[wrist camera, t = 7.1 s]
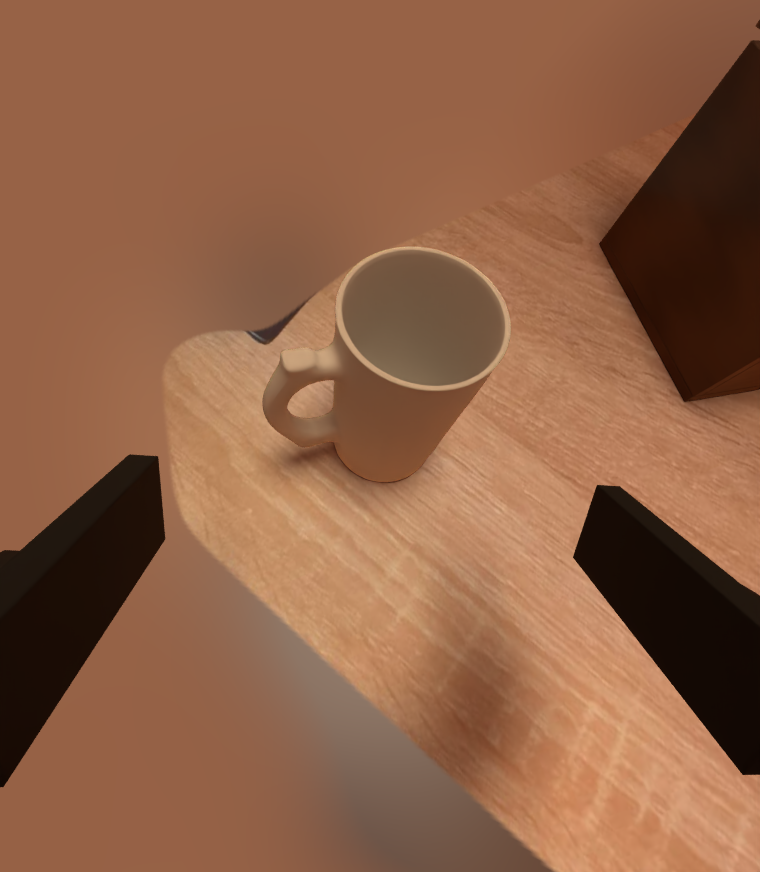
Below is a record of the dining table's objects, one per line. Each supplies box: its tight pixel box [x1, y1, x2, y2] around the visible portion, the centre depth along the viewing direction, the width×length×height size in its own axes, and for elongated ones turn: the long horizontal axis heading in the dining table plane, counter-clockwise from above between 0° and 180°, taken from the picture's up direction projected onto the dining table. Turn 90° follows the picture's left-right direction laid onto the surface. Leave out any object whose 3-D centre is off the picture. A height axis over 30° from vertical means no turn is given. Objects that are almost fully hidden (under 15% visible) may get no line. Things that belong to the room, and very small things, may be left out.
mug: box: [263, 247, 511, 482], centre depth 21 cm, size 10×7×12 cm, turn 109°
